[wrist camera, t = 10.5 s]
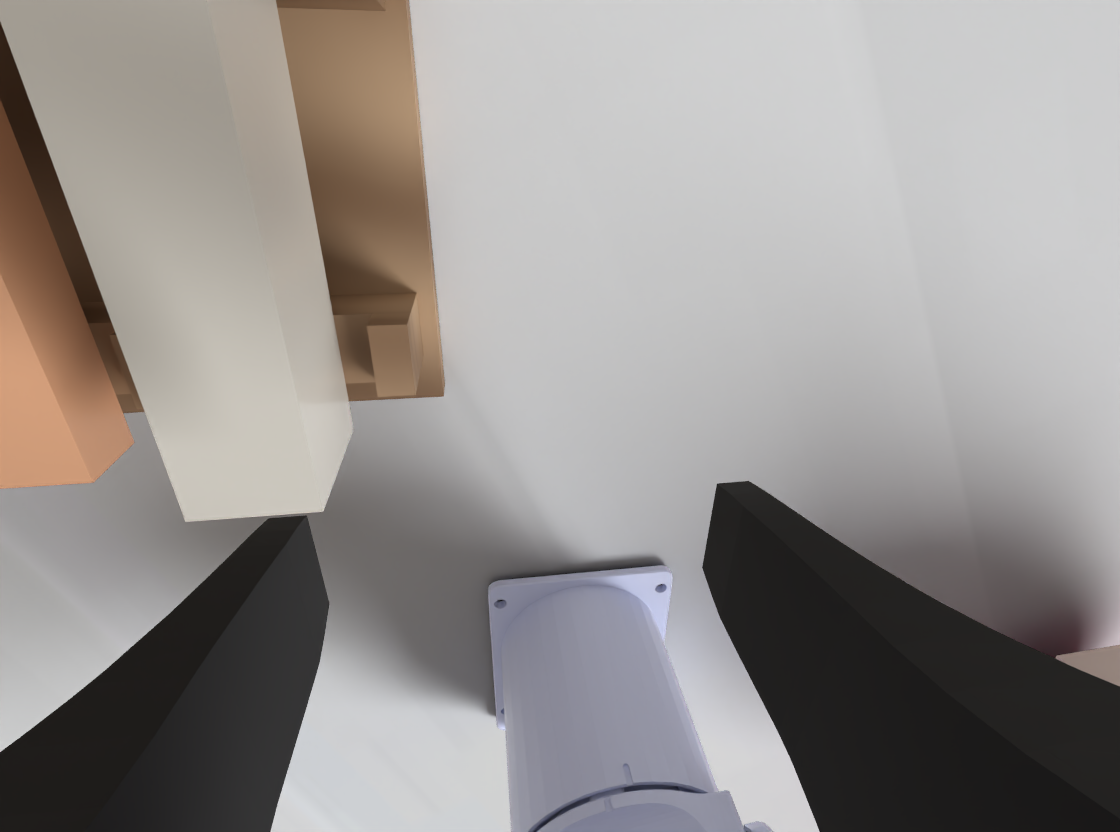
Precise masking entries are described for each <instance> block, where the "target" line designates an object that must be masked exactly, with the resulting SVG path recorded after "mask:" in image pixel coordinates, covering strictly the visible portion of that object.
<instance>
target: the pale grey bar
mask: <svg viewBox="0 0 1120 832" xmlns="http://www.w3.org/2000/svg"><path fill="white" fill-rule="evenodd" d="M0 22H1V25H2V27H3V30H4V33H5V35H6V38H7V41H8V44H9V46H10V49H11V52H12V54H13V57H14V60H15V63H16V65H17V68H18V71H19V73H20V76H21V79H22V81H23V84H24V87H25V90H26V92H27V95H28V98H29V100H30V103H31V106H32V108H33V111H34V114H35V117H36V119H37V122H38V125H39V127H40V130H41V133H42V135H43V138H44V141H45V144H46V146H47V149H48V152H49V154H50V157H51V160H52V162H53V165H54V168H55V171H56V173H57V176H58V179H59V181H60V184H61V187H62V190H63V192H64V195H65V198H66V200H67V203H68V206H69V208H70V211H71V214H72V217H73V219H74V222H75V225H76V227H77V230H78V233H79V235H80V238H81V241H82V244H83V246H84V249H85V252H86V254H87V257H88V260H89V262H90V265H91V268H92V271H93V273H94V276H95V279H96V281H97V284H98V287H99V290H100V292H101V295H102V298H103V300H104V303H105V306H106V308H107V311H108V314H109V317H110V319H111V322H112V325H113V327H114V330H115V333H116V335H117V338H118V341H119V344H120V346H121V349H122V352H123V354H124V357H125V360H126V362H127V365H128V368H129V371H130V373H131V376H132V379H133V381H134V384H135V387H136V389H137V392H138V395H139V398H140V400H141V403H142V406H143V408H144V411H145V414H146V417H147V419H148V422H149V425H150V427H151V430H152V433H153V435H154V438H155V441H156V444H157V446H158V449H159V452H160V454H161V457H162V460H163V462H164V465H165V468H166V471H167V473H168V476H169V479H170V481H171V484H172V487H173V489H174V492H175V495H176V498H177V500H178V503H179V506H180V508H181V511H182V514H183V517H184V519H185V522H192V521H206V520H219V519H232V518H246V517H259V516H272V515H286V514H299V513H313V512H323V511H324V509H325V506H326V503H327V500H328V498H329V495H330V492H331V490H332V487H333V484H334V482H335V479H336V476H337V474H338V471H339V468H340V465H341V463H342V460H343V457H344V455H345V452H346V449H347V447H348V444H349V441H350V438H351V436H352V433H353V430H354V427H353V422H352V416H351V411H350V405H349V400H348V394H347V389H346V383H345V378H344V372H343V367H342V361H341V356H340V350H339V345H338V339H337V334H336V328H335V323H334V317H333V312H332V306H331V301H330V295H329V290H328V284H327V279H326V273H325V268H324V262H323V257H322V251H321V246H320V240H319V235H318V229H317V224H316V218H315V213H314V207H313V202H312V196H311V191H310V185H309V180H308V174H307V169H306V163H305V158H304V152H303V147H302V141H301V136H300V130H299V125H298V119H297V114H296V109H295V103H294V98H293V92H292V87H291V81H290V76H289V70H288V65H287V59H286V54H285V48H284V43H283V37H282V32H281V26H280V21H279V15H278V10H277V4H276V0H0Z"/></svg>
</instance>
